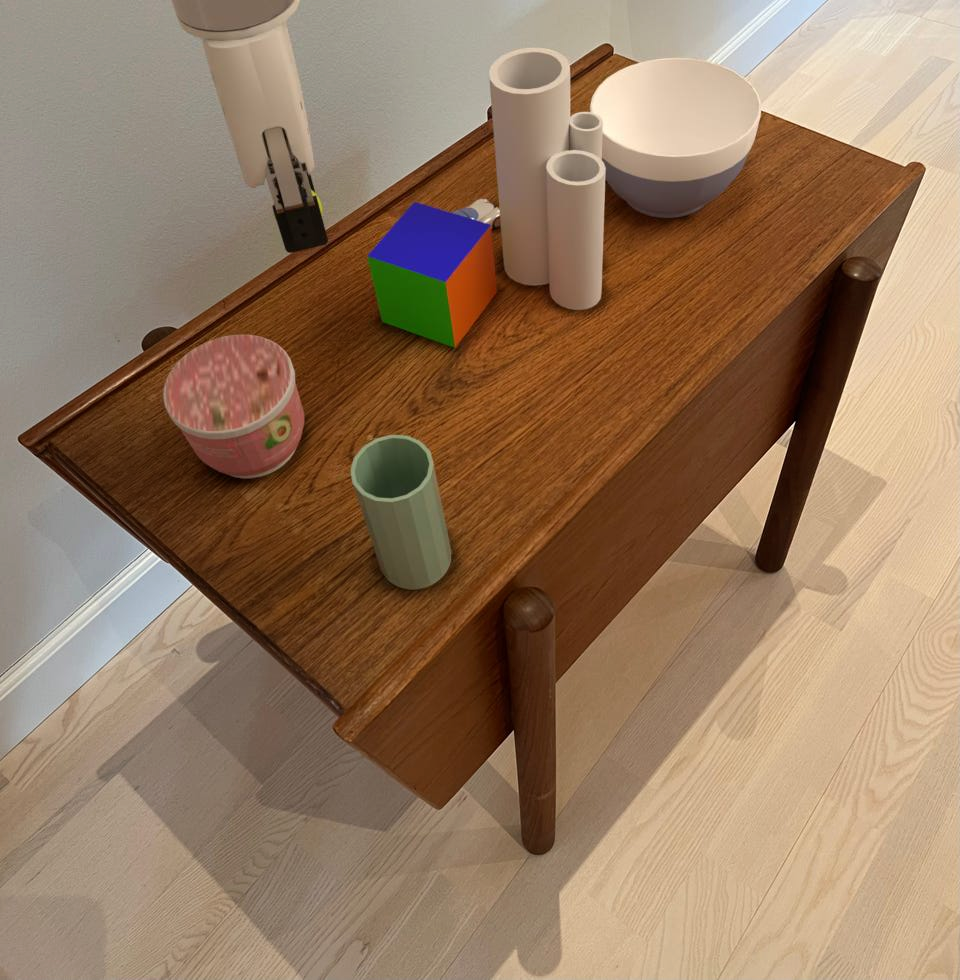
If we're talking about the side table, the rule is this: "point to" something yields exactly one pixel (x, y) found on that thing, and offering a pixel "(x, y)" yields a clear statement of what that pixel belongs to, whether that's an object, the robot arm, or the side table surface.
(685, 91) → the bowl
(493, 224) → the toy car
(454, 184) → the side table surface
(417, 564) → the tube
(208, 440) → the container
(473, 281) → the cube
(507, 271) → the vase
